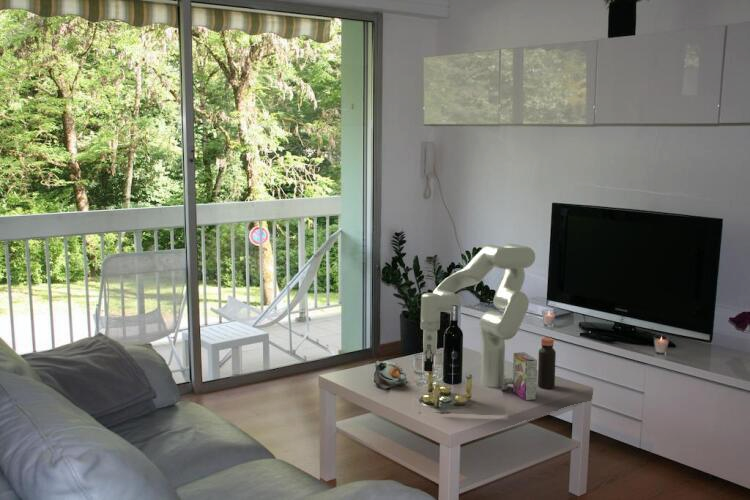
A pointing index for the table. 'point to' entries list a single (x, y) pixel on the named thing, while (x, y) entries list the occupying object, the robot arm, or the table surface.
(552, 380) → the bottle
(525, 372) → the candy bar box
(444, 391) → the gold u-shaped piece
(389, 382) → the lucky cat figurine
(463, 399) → the gold bent piece
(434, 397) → the gold l-shaped fitting
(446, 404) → the tribrach plate
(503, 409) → the table surface
